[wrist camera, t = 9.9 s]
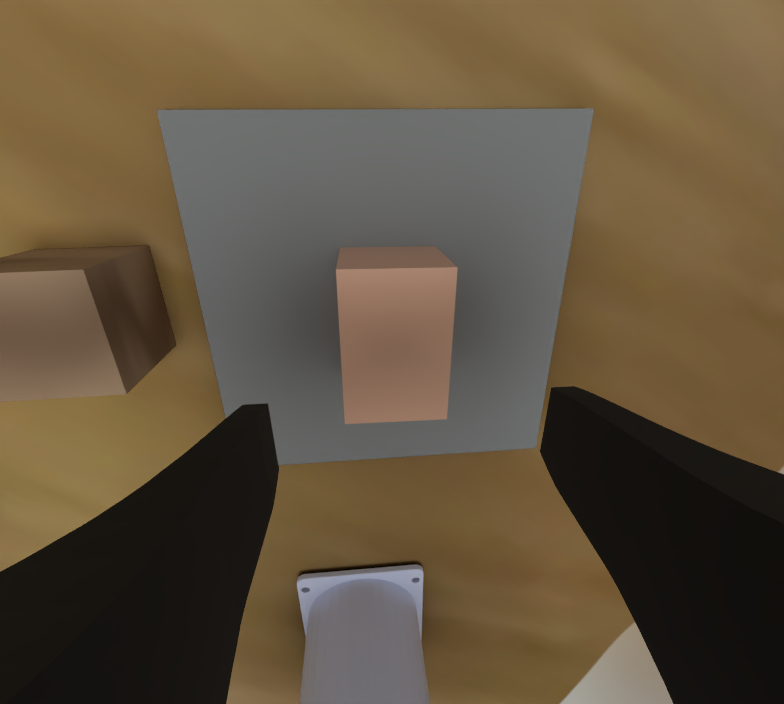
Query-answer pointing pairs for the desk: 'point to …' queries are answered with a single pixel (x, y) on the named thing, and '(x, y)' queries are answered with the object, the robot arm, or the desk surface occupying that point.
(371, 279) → the terracotta brick
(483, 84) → the desk surface
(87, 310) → the walnut cube
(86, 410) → the desk surface
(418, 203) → the desk mat
